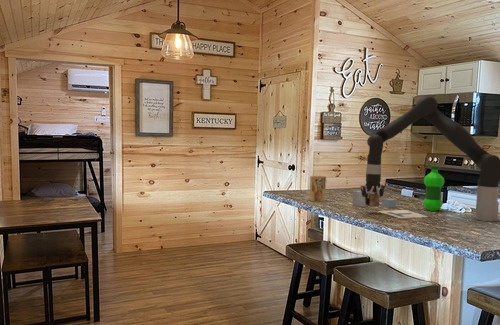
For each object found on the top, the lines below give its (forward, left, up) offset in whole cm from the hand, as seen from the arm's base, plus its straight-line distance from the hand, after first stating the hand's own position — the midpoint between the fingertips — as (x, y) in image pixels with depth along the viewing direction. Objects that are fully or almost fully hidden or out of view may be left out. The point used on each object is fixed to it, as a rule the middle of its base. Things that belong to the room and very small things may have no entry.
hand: (372, 204), depth 221 cm
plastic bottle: (-41, -1, -5) cm, 41 cm away
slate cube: (-21, -13, -5) cm, 25 cm away
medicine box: (-7, -21, -5) cm, 23 cm away
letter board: (-15, +6, -5) cm, 17 cm away
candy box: (+9, -44, -5) cm, 45 cm away
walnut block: (0, 0, -1) cm, 1 cm away
